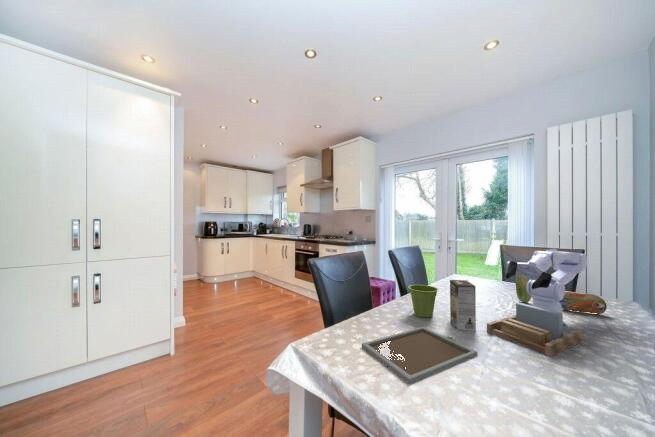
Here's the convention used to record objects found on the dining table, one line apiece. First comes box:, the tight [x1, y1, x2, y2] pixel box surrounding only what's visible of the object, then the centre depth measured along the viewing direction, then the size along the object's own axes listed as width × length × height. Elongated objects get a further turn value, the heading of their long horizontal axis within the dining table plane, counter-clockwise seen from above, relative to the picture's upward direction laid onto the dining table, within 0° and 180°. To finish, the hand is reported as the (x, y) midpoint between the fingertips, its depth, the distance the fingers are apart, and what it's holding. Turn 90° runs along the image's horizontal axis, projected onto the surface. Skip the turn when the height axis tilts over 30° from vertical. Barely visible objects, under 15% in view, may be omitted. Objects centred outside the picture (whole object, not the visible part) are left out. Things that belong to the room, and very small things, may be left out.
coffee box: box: [449, 279, 477, 332], centre depth 89 cm, size 9×6×16 cm
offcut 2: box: [507, 319, 551, 344], centre depth 79 cm, size 2×11×4 cm, turn 26°
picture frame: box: [361, 326, 479, 385], centre depth 71 cm, size 19×2×30 cm
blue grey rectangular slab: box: [515, 302, 564, 341], centre depth 82 cm, size 2×12×9 cm, turn 26°
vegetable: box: [515, 261, 532, 304], centre depth 115 cm, size 6×6×20 cm
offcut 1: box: [501, 321, 545, 347], centre depth 77 cm, size 2×11×4 cm, turn 26°
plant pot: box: [407, 284, 439, 318], centre depth 99 cm, size 12×12×11 cm
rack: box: [486, 314, 584, 357], centre depth 80 cm, size 22×17×3 cm
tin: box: [559, 291, 608, 315], centre depth 103 cm, size 15×3×8 cm, turn 58°
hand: (519, 281), depth 82 cm, fingers open, 7 cm apart
